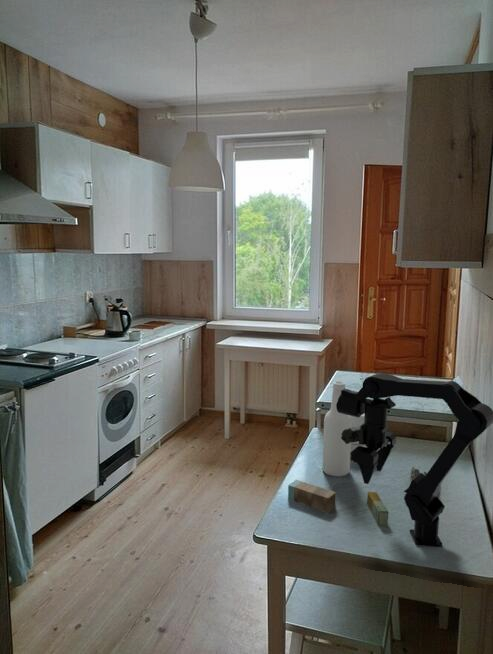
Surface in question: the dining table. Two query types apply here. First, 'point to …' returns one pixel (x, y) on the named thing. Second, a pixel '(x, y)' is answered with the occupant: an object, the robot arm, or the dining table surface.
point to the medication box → (377, 509)
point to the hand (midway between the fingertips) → (372, 476)
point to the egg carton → (415, 474)
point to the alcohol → (336, 438)
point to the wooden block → (312, 496)
